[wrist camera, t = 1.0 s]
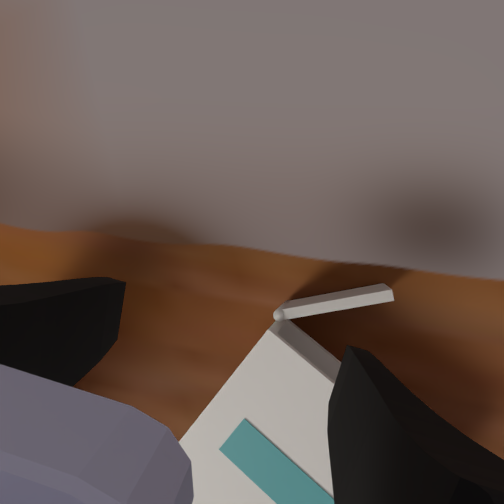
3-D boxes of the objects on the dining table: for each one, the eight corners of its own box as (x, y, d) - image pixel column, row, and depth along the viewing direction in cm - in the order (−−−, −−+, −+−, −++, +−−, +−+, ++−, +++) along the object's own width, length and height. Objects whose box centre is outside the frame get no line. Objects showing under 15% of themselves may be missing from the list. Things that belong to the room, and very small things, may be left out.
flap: (284, 311, 25) (274, 322, 21) (282, 301, 25) (272, 310, 21) (386, 293, 23) (394, 301, 20) (383, 282, 23) (391, 288, 20)
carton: (443, 446, 23) (471, 499, 18) (268, 632, 26) (250, 723, 21) (282, 313, 25) (267, 329, 20) (136, 497, 28) (92, 551, 23)
